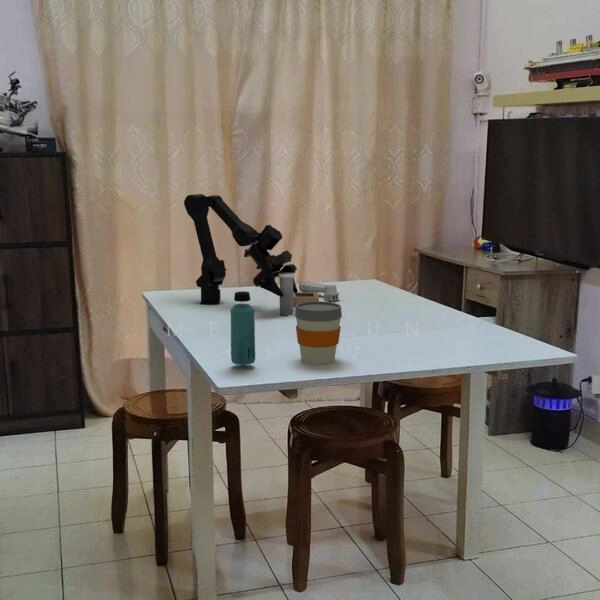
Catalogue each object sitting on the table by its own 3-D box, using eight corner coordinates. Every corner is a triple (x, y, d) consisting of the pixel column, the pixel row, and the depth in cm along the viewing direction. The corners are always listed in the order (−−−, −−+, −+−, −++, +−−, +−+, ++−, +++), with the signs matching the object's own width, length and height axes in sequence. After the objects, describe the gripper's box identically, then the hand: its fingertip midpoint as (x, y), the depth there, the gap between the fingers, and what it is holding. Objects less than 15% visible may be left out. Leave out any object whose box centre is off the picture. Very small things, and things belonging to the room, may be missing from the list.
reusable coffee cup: (296, 367, 209) (296, 311, 206) (292, 354, 221) (293, 301, 218) (344, 366, 210) (345, 310, 207) (337, 353, 222) (338, 300, 219)
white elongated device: (308, 280, 313) (341, 281, 291) (309, 297, 314) (342, 300, 292) (296, 281, 311) (328, 283, 289) (297, 298, 312) (329, 301, 290)
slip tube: (278, 316, 267) (278, 275, 264) (278, 313, 272) (278, 272, 270) (294, 316, 267) (294, 275, 265) (293, 312, 273) (293, 272, 270)
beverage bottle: (249, 371, 204) (248, 295, 200) (226, 368, 207) (225, 293, 203) (259, 365, 210) (259, 290, 206) (237, 362, 213) (236, 288, 209)
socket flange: (291, 307, 281) (291, 297, 280) (290, 301, 291) (290, 292, 290) (319, 307, 281) (319, 297, 280) (317, 301, 291) (317, 292, 290)
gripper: (260, 246, 260) (287, 283, 256) (292, 240, 275) (319, 275, 271) (241, 268, 266) (268, 304, 262) (274, 261, 281) (299, 295, 277)
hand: (289, 294), depth 268 cm, fingers open, 8 cm apart
